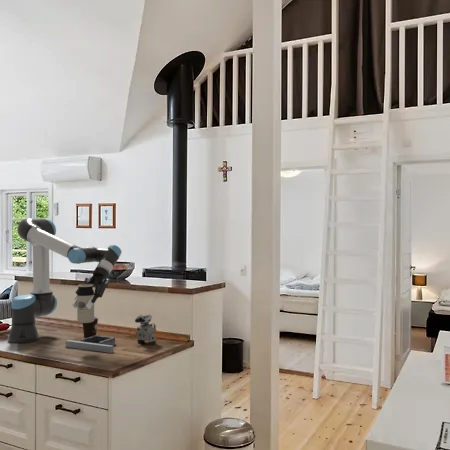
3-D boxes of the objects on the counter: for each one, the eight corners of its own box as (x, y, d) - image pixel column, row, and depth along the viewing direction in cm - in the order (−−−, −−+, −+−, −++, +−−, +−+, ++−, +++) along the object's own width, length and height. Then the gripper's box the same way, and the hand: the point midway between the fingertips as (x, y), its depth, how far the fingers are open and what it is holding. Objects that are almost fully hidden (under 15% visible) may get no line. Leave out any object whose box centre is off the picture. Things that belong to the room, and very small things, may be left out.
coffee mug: (88, 338, 269) (88, 320, 269) (78, 336, 274) (78, 318, 274) (105, 334, 278) (105, 317, 278) (95, 332, 283) (95, 315, 283)
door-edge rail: (65, 346, 250) (65, 340, 250) (68, 345, 252) (68, 340, 252) (110, 352, 238) (110, 346, 238) (113, 351, 240) (113, 345, 240)
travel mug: (86, 319, 249) (85, 283, 249) (97, 321, 245) (97, 284, 245) (73, 322, 243) (73, 285, 243) (85, 323, 239) (85, 286, 238)
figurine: (129, 345, 254) (129, 315, 254) (144, 340, 264) (145, 312, 264) (143, 347, 249) (143, 317, 249) (158, 343, 259) (158, 314, 259)
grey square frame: (79, 347, 249) (79, 340, 249) (95, 342, 261) (95, 335, 261) (99, 349, 244) (99, 342, 244) (115, 344, 255) (115, 337, 255)
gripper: (122, 276, 253) (101, 313, 239) (90, 274, 262) (68, 310, 248) (115, 266, 248) (93, 303, 234) (83, 265, 258) (60, 301, 243)
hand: (80, 307), depth 241 cm, fingers closed on travel mug, 8 cm apart
